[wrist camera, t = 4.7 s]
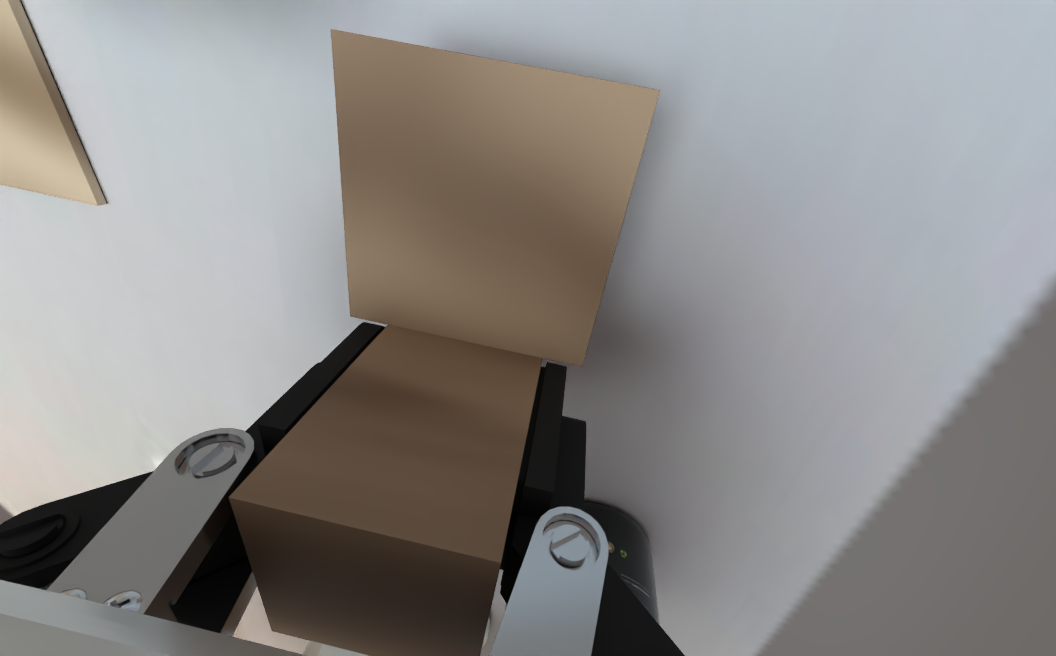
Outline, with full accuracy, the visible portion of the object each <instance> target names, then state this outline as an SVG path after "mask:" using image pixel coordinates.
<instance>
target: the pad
mask: <svg viewBox="0 0 1056 656" xmlns="http://www.w3.org/2000/svg"><path fill="white" fill-rule="evenodd" d="M0 185H5V186H9V187H14V188H19V189H23V190H28V191H32V192H37V193H42V194H46V195H51V196H55V197H60V198H65V199H69V200H74V201H79V202H83V203H88V204H92V205H97V206H99V205H103V204H106V201H105V198H104V196H103V194H102V191H101V189H100V187H99V184H98V182H97V180H96V177H95V175H94V173H93V170H92V168H91V166H90V163H89V161H88V159H87V156H86V154H85V152H84V149H83V147H82V145H81V142H80V140H79V138H78V135H77V133H76V131H75V128H74V126H73V124H72V121H71V119H70V117H69V114H68V112H67V110H66V107H65V105H64V103H63V100H62V98H61V96H60V93H59V91H58V89H57V86H56V84H55V82H54V79H53V77H52V75H51V72H50V70H49V68H48V65H47V63H46V61H45V58H44V56H43V54H42V51H41V49H40V47H39V44H38V42H37V40H36V37H35V35H34V33H33V30H32V28H31V26H30V23H29V21H28V19H27V16H26V14H25V12H24V9H23V7H22V5H21V2H20V0H0Z"/></svg>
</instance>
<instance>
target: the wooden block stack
mask: <svg viewBox="0 0 1056 656" xmlns="http://www.w3.org/2000/svg"><path fill="white" fill-rule="evenodd" d="M331 38H332V53H333V68H334V82H335V97H336V112H337V127H338V141H339V156H340V171H341V186H342V201H343V215H344V230H345V245H346V260H347V274H348V289H349V304H350V316H351V317H356V318H360V319H365V320H369V321H374V322H379V323H383V324H388V325H387V326H386V327H385V328H384V330H383V331H382V332H381V333H380V334H379V335H378V336H377V337H376V338H375V339H374V340H373V341H372V343H371V344H370V345H369V346H368V347H367V348H366V349H365V350H364V351H363V352H362V353H361V354H360V356H359V357H358V358H357V359H356V360H355V361H354V362H353V363H352V364H351V365H350V366H349V367H348V369H347V370H346V371H345V372H344V373H343V374H342V375H341V376H340V377H339V378H338V379H337V380H336V382H335V383H334V384H333V385H332V386H331V387H330V388H329V389H328V390H327V391H326V392H325V393H324V395H323V396H322V397H321V398H320V399H319V400H318V401H317V402H316V403H315V404H314V405H313V406H312V408H311V409H310V410H309V411H308V412H307V413H306V414H305V415H304V416H303V417H302V418H301V419H300V421H299V422H298V423H297V424H296V425H295V426H294V427H293V428H292V429H291V430H290V431H289V432H288V434H287V435H286V436H285V437H284V438H283V439H282V440H281V441H280V442H279V443H278V444H277V445H276V446H275V448H274V449H273V450H272V451H271V452H270V453H269V454H268V455H267V456H266V457H265V458H264V459H263V461H262V462H261V463H260V464H259V465H258V466H257V467H256V468H255V469H254V470H253V471H252V472H251V474H250V475H249V476H248V477H247V478H246V479H245V480H244V481H243V482H242V483H241V484H240V485H239V487H238V488H237V489H236V490H235V491H234V492H233V493H232V494H231V495H230V496H229V500H230V503H231V506H232V510H233V513H234V516H235V519H236V522H237V525H238V528H239V531H240V534H241V537H242V540H243V543H244V546H245V550H246V553H247V556H248V559H249V562H250V565H251V568H252V571H253V574H254V577H255V580H256V583H257V586H258V590H259V593H260V596H261V599H262V602H263V605H264V608H265V611H266V614H267V617H268V620H269V623H270V626H271V630H272V631H274V632H278V633H282V634H286V635H290V636H294V637H298V638H302V639H306V640H310V641H314V642H318V643H322V644H325V645H329V646H333V647H337V648H341V649H345V650H349V651H353V652H357V653H361V654H365V655H369V656H480V653H481V649H482V645H483V640H484V636H485V631H486V627H487V622H488V618H489V614H490V609H491V605H492V600H493V596H494V592H495V587H496V583H497V578H498V574H499V569H500V565H501V560H502V555H503V550H504V546H505V541H506V536H507V531H508V526H509V521H510V516H511V511H512V506H513V501H514V496H515V491H516V486H517V481H518V476H519V472H520V467H521V462H522V457H523V452H524V447H525V442H526V437H527V432H528V427H529V422H530V417H531V412H532V407H533V403H534V398H535V393H536V388H537V383H538V378H539V373H540V368H541V363H542V358H544V359H549V360H553V361H558V362H563V363H567V364H572V365H576V366H581V367H582V365H583V361H584V358H585V354H586V350H587V347H588V343H589V340H590V336H591V333H592V329H593V326H594V322H595V319H596V315H597V312H598V308H599V304H600V301H601V297H602V294H603V290H604V287H605V283H606V280H607V276H608V273H609V269H610V265H611V262H612V258H613V255H614V251H615V248H616V244H617V241H618V237H619V234H620V230H621V227H622V223H623V219H624V216H625V212H626V209H627V205H628V202H629V198H630V195H631V191H632V188H633V184H634V180H635V177H636V173H637V170H638V166H639V163H640V159H641V156H642V152H643V149H644V145H645V141H646V138H647V134H648V131H649V127H650V124H651V120H652V117H653V113H654V110H655V106H656V103H657V99H658V95H659V92H660V90H655V89H650V88H645V87H639V86H634V85H629V84H623V83H618V82H612V81H607V80H602V79H596V78H591V77H586V76H580V75H575V74H569V73H564V72H559V71H553V70H548V69H543V68H537V67H532V66H526V65H521V64H516V63H510V62H505V61H500V60H494V59H489V58H483V57H478V56H473V55H467V54H462V53H456V52H451V51H446V50H440V49H435V48H430V47H424V46H419V45H413V44H408V43H403V42H397V41H392V40H387V39H381V38H376V37H370V36H365V35H360V34H354V33H349V32H344V31H338V30H333V29H331Z"/></svg>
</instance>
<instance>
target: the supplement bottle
mask: <svg viewBox="0 0 1056 656" xmlns="http://www.w3.org/2000/svg"><path fill="white" fill-rule="evenodd" d="M584 512H585V513H587V514H589V515H590V516H591V517H592V518H594V519H595V520H596V521H597V522H598V523H599V525H600V526H601V528H602V529H603V531H604V533H605V535H606V538H607V542H608V561H607V562H608V564H609V565H610V566H611V567H612V568H613V570H614V571H615V572H616V573H617V574H618V576H619V577H620V578H621V579H622V581H623V582H624V583H625V584H626V585H627V587H628V588H629V589H630V590H631V591H632V593H633V594H634V595H635V596H636V597H637V599H638V600H639V601H640V602H641V604H642V605H643V606H644V607H645V608H646V610H647V611H648V612H649V613H650V614H651V616H652V617H653V618H654V619H655V620H656V622H657V623H658V624H659V616H658V607H657V598H656V589H655V579H654V570H653V563H652V555H651V548H650V544H649V541H648V539H647V537H646V535H645V533H644V532H643V530H642V529H641V528H640V527H639V526H638V525H637V524H636V523H635V522H634V521H633V520H632V519H631V518H629V517H628V516H626V515H625V514H623V513H621V512H620V511H617V510H615V509H613V508H610V507H608V506H605V505H601V504H597V503H592V502H584ZM506 607H507V604H506ZM506 607H505V610H506Z"/></svg>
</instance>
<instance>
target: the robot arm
mask: <svg viewBox="0 0 1056 656" xmlns="http://www.w3.org/2000/svg"><path fill="white" fill-rule="evenodd" d="M384 328H385V327H384V326H380V325H375V324H370V323H366V322H363V323H361V324H360V325H359V326H358V327H357V328H356V329H355V330H354V331H353V332H352V333H351V334H350V335H349V336H348V337H346V338H345V339H344V340H343V341H342V342H341V343H340V344H339V345H338V346H337V347H336V348H335V349H334V350H333V351H332V352H331V353H330V354H329V355H328V356H327V357H326V358H325V359H324V360H323V361H322V362H320V363H317V364H316V365H314V366H313V367H312V368H311V369H310V370H309V371H308V372H307V373H306V374H305V375H304V376H303V377H302V378H301V379H300V380H298V381H297V382H296V383H295V384H294V385H293V386H292V387H291V388H290V389H289V390H288V391H287V392H286V393H285V394H284V395H283V396H282V397H281V398H280V399H279V400H278V401H277V402H276V403H274V404H273V405H272V406H271V407H270V408H269V409H268V410H267V411H266V412H265V413H264V414H263V415H262V416H261V417H260V418H259V419H258V420H257V421H256V422H255V423H254V424H253V425H251V426H250V427H249V428H248V429H247V430H246V431H243V430H239V429H234V428H219V429H215V430H210V431H206V432H203V433H200V434H198V435H195V436H193V437H191V438H189V439H188V440H186V441H184V442H182V443H181V444H180V445H179V446H177V447H176V448H175V449H174V450H173V451H172V452H171V453H170V454H169V455H168V456H167V457H166V458H165V459H164V461H163V462H162V463H161V464H160V465H159V466H158V467H157V468H156V469H155V471H153V472H149V473H146V474H143V475H139V476H136V477H133V478H129V479H126V480H123V481H120V482H116V483H113V484H110V485H106V486H103V487H100V488H96V489H93V490H90V491H86V492H83V493H80V494H77V495H73V496H70V497H67V498H63V499H60V500H57V501H53V502H50V503H47V504H44V505H40V506H38V507H35V508H33V509H30V510H27V511H25V512H22V513H20V514H18V515H17V516H15V517H13V518H11V519H9V520H7V521H5V522H4V523H2V524H1V525H0V656H369V655H365V654H361V653H357V652H353V651H349V650H345V649H341V648H337V647H333V646H329V645H325V644H322V643H318V642H314V641H309V642H308V644H307V646H306V648H305V650H304V652H303V654H298V653H294V652H290V651H286V650H282V649H278V648H274V647H271V646H267V645H263V644H259V643H255V642H251V641H247V640H243V639H239V638H235V637H232V636H233V634H234V632H235V630H236V628H237V626H238V624H239V622H240V620H241V618H242V615H243V613H244V611H245V609H246V607H247V605H248V603H249V601H250V599H251V597H252V595H253V593H254V591H255V589H256V587H257V583H256V580H255V577H254V574H253V571H252V568H251V565H250V562H249V559H248V556H247V553H246V550H245V546H244V543H243V540H242V537H241V534H240V531H239V528H238V525H237V522H236V519H235V516H234V513H233V510H232V506H231V503H230V500H229V496H230V495H231V494H232V493H233V492H234V491H235V490H236V489H237V488H238V487H239V485H240V484H241V483H242V482H243V481H244V480H245V479H246V478H247V477H248V476H249V475H250V474H251V472H252V471H253V470H254V469H255V468H256V467H257V466H258V465H259V464H260V463H261V462H262V461H263V459H264V458H265V457H266V456H267V455H268V454H269V453H270V452H271V451H272V450H273V449H274V448H275V446H276V445H277V444H278V443H279V442H280V441H281V440H282V439H283V438H284V437H285V436H286V435H287V434H288V432H289V431H290V430H291V429H292V428H293V427H294V426H295V425H296V424H297V423H298V422H299V421H300V419H301V418H302V417H303V416H304V415H305V414H306V413H307V412H308V411H309V410H310V409H311V408H312V406H313V405H314V404H315V403H316V402H317V401H318V400H319V399H320V398H321V397H322V396H323V395H324V393H325V392H326V391H327V390H328V389H329V388H330V387H331V386H332V385H333V384H334V383H335V382H336V380H337V379H338V378H339V377H340V376H341V375H342V374H343V373H344V372H345V371H346V370H347V369H348V367H349V366H350V365H351V364H352V363H353V362H354V361H355V360H356V359H357V358H358V357H359V356H360V354H361V353H362V352H363V351H364V350H365V349H366V348H367V347H368V346H369V345H370V344H371V343H372V341H373V340H374V339H375V338H376V337H377V336H378V335H379V334H380V333H381V332H382V331H383V330H384ZM566 371H567V366H562V365H557V364H553V363H548V362H547V364H546V367H541V368H540V373H539V378H538V383H537V388H536V393H535V398H534V403H533V407H532V412H531V417H530V422H529V427H528V432H527V437H526V442H525V447H524V452H523V457H522V462H521V467H520V472H519V476H518V481H517V486H516V491H515V496H514V501H513V506H512V511H511V516H510V521H509V526H508V531H507V536H506V541H505V546H504V550H503V555H502V560H501V565H500V569H502V570H503V575H502V580H501V585H502V586H501V591H500V594H501V595H502V597H503V599H504V600H505V602H506V604H507V607H506V610H505V613H504V616H503V618H502V621H501V624H500V627H499V630H498V632H497V635H496V638H495V641H494V643H493V646H492V649H491V652H490V654H489V656H684V654H683V653H682V652H681V651H680V649H679V648H678V647H677V646H676V645H675V643H674V642H673V641H672V640H671V639H670V637H669V636H668V635H667V634H666V633H665V631H664V630H663V629H662V628H661V626H660V625H659V624H658V623H657V622H656V620H655V619H654V618H653V617H652V616H651V614H650V613H649V612H648V611H647V610H646V608H645V607H644V606H643V605H642V604H641V602H640V601H639V600H638V599H637V597H636V596H635V595H634V594H633V593H632V591H631V590H630V589H629V588H628V587H627V585H626V584H625V583H624V582H623V581H622V579H621V578H620V577H619V576H618V574H617V573H616V572H615V571H614V570H613V568H612V567H611V566H610V565H609V564H608V562H607V561H608V542H607V538H606V535H605V533H604V531H603V529H602V528H601V526H600V525H599V523H598V522H597V521H596V520H595V519H594V518H592V517H591V516H590V515H589V514H587V513H585V512H584V490H585V455H586V421H582V420H578V419H573V418H569V417H564V416H562V408H563V399H564V390H565V380H566ZM489 628H490V619H489V618H488V622H487V627H486V631H485V636H484V640H483V645H482V648H483V647H484V645H485V644H486V642H487V638H488V633H489Z"/></svg>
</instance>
